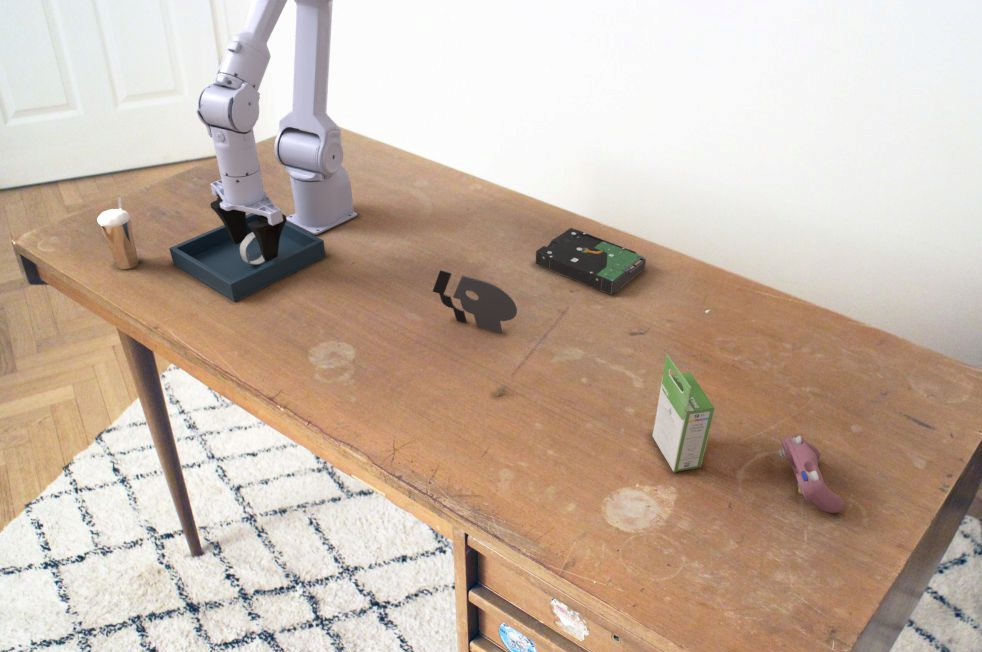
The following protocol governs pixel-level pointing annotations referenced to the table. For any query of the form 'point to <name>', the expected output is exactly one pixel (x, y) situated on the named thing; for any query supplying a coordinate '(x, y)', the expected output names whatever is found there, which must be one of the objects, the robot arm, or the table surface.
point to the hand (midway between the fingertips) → (255, 249)
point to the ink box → (682, 419)
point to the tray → (229, 274)
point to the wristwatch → (244, 250)
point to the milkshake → (119, 236)
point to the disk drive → (590, 260)
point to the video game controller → (809, 474)
